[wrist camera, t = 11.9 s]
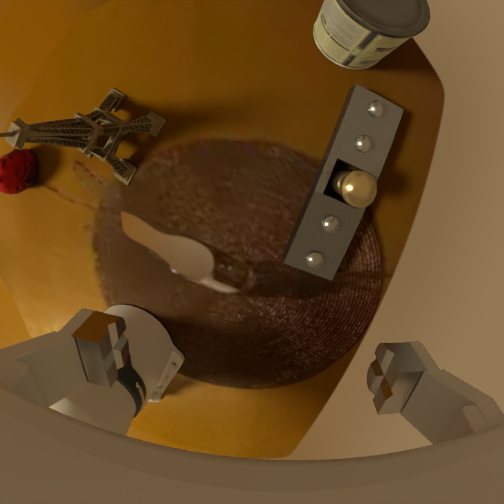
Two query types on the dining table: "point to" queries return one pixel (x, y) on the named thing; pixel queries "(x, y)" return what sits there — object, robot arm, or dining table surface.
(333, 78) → the dining table surface
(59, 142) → the eiffel tower
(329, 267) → the grey peg board
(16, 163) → the red rounded piece
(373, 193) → the pin
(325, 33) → the coffee can
